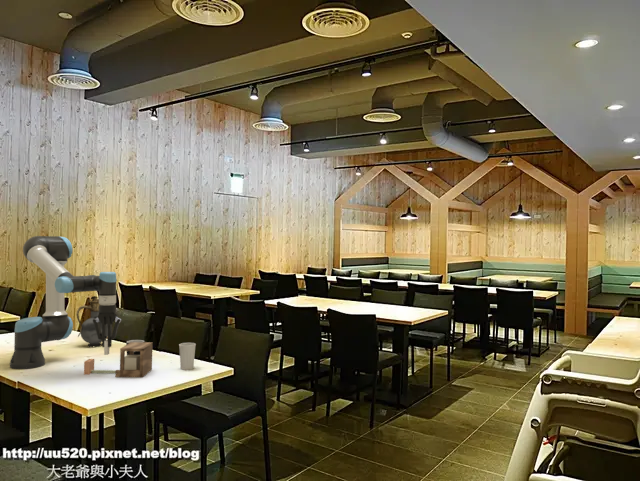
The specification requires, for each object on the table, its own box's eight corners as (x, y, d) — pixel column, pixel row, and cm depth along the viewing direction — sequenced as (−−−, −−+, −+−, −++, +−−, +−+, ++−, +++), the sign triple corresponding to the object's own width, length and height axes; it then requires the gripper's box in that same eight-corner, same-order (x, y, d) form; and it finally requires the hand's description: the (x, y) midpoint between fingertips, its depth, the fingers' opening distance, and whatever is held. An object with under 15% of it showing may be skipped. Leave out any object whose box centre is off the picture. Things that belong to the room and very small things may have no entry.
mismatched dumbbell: (83, 374, 235) (84, 357, 235) (89, 371, 241) (89, 354, 241) (136, 374, 237) (136, 357, 237) (139, 371, 243) (140, 354, 243)
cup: (180, 370, 246) (181, 346, 246) (177, 367, 253) (177, 343, 253) (196, 369, 249) (197, 345, 249) (193, 365, 256) (193, 342, 256)
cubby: (115, 377, 232) (116, 348, 232) (125, 369, 247) (126, 342, 247) (142, 377, 232) (143, 348, 233) (151, 369, 247) (152, 342, 248)
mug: (128, 363, 259) (128, 343, 259) (123, 360, 266) (124, 340, 267) (151, 360, 266) (152, 341, 266) (147, 357, 273) (147, 338, 273)
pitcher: (111, 345, 305) (112, 295, 305) (80, 349, 290) (81, 297, 290) (102, 342, 312) (103, 294, 312) (71, 347, 297) (72, 296, 297)
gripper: (90, 305, 235) (89, 355, 235) (118, 305, 236) (118, 355, 235) (96, 303, 243) (95, 352, 242) (124, 303, 243) (123, 352, 243)
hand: (106, 354), depth 239 cm, fingers closed
